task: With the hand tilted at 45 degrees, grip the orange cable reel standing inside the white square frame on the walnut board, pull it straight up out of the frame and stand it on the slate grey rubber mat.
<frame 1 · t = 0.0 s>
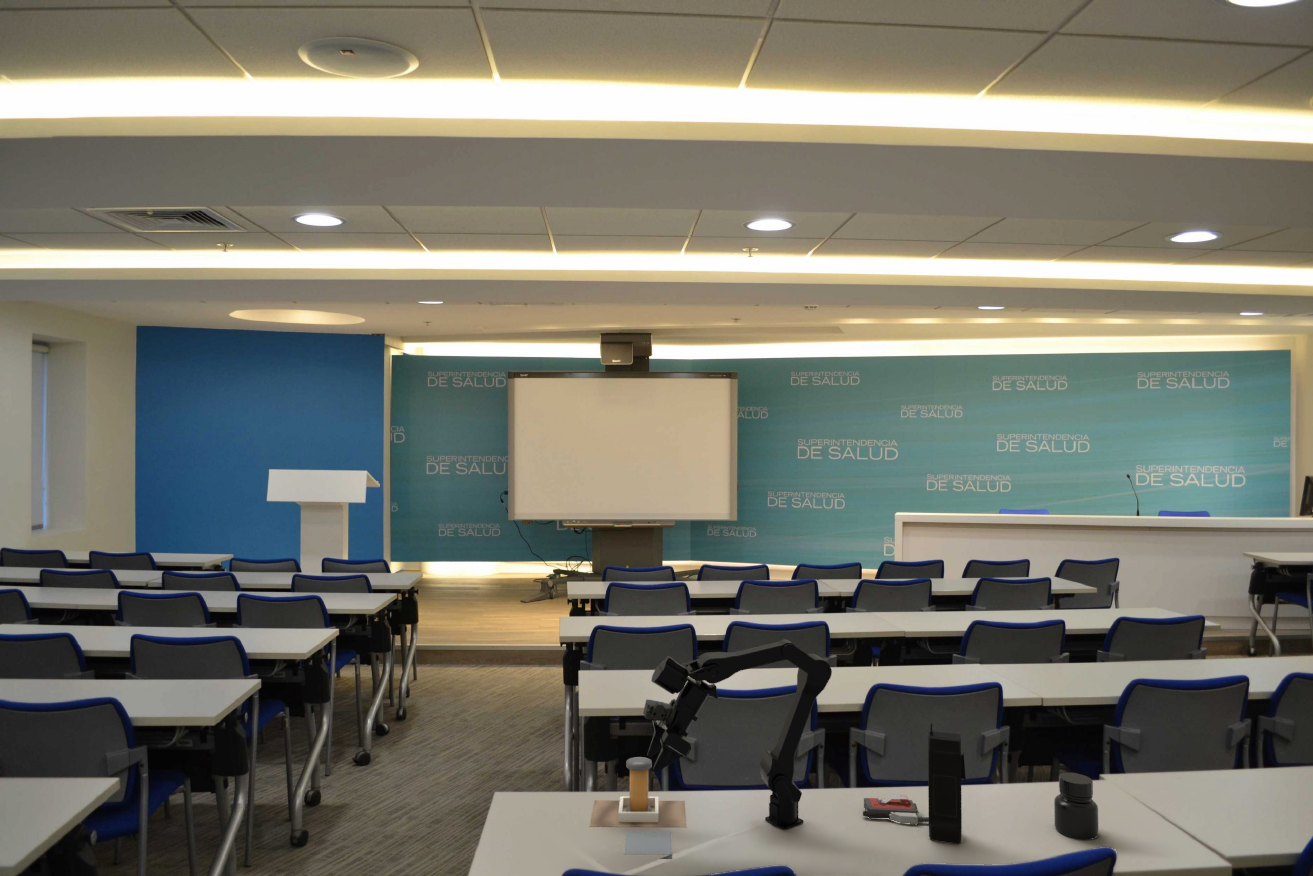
hand: (651, 763, 182), 15 cm above the table, tool tilted 35°, fingers open, 9 cm apart
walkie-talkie: (904, 819, 189), on the table
portable radio: (947, 837, 179), on the table
white square frame: (638, 809, 188), on the walnut board, point 1 cm above the table
grey mat: (648, 847, 173), on the table
cable reel: (638, 813, 188), point 1 cm above the table, touching walnut board
walnut board: (638, 817, 188), on the table
ink bottle: (1076, 832, 182), on the table
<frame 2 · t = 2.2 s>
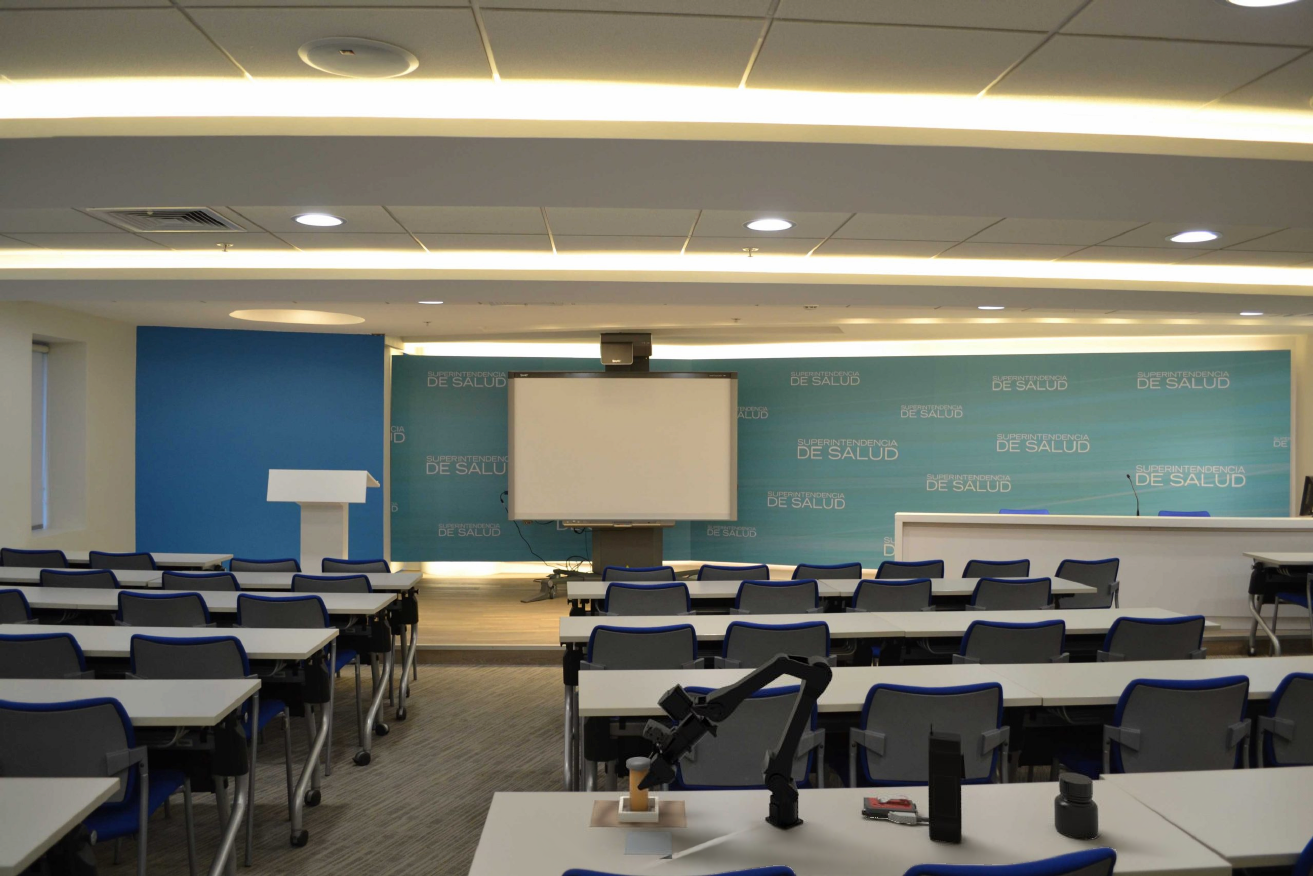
hand: (639, 781, 188), 9 cm above the table, tool tilted 45°, fingers open, 9 cm apart
nothing on the table moved.
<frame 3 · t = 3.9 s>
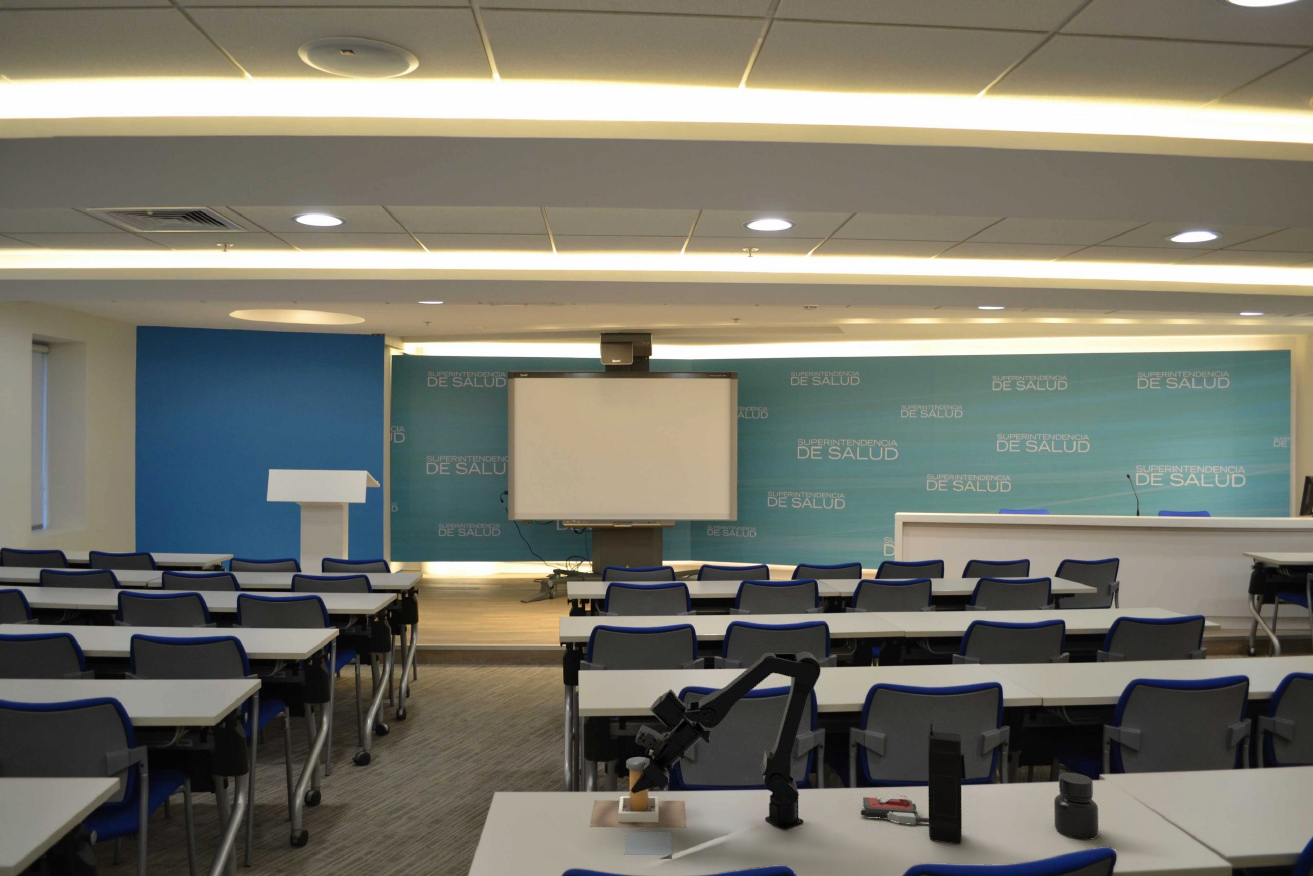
hand: (633, 787, 188), 7 cm above the table, tool tilted 45°, fingers closed on cable reel, 5 cm apart
cable reel: (638, 813, 188), point 1 cm above the table, touching gripper, walnut board
everything else where it was.
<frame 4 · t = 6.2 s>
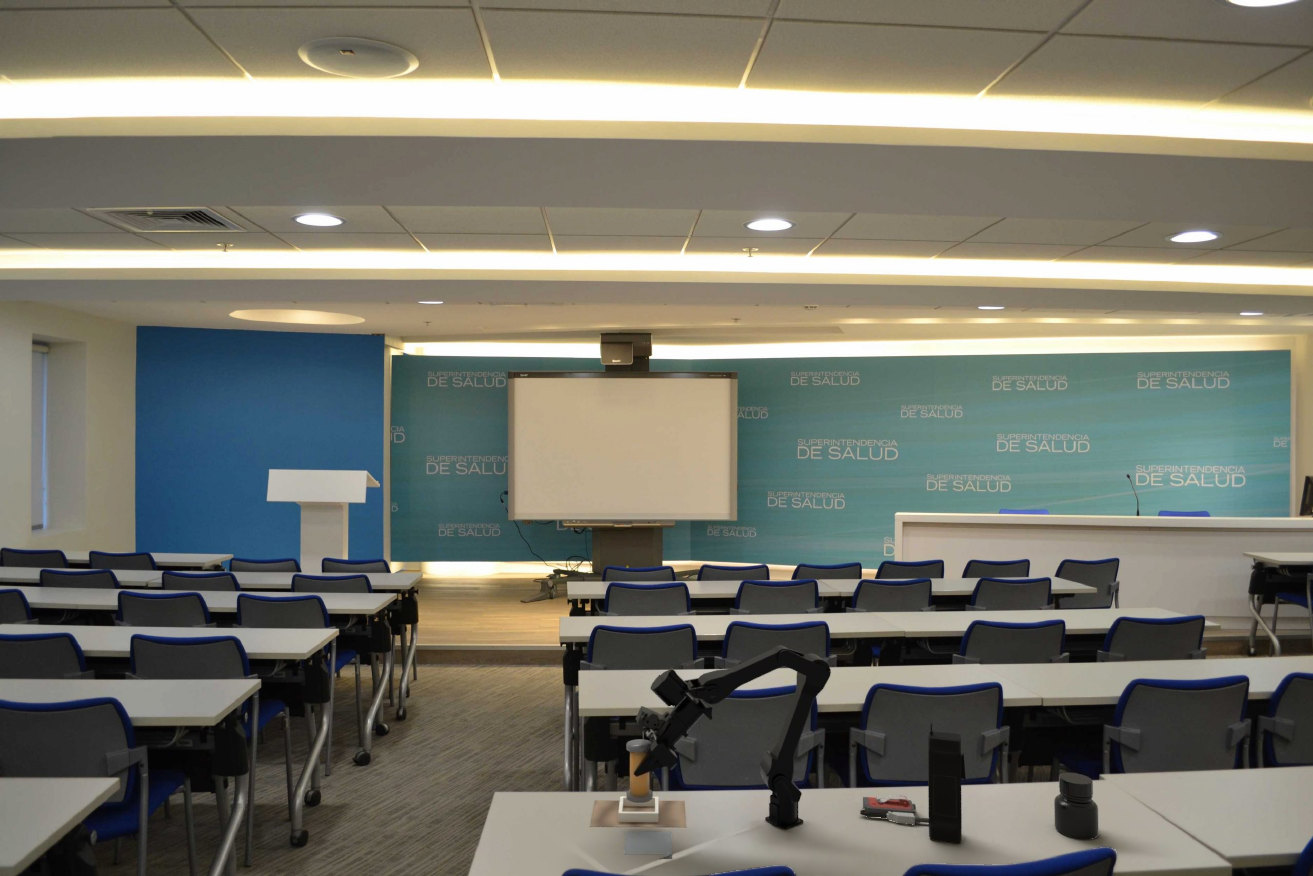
hand: (633, 770, 182), 13 cm above the table, tool tilted 45°, fingers closed on cable reel, 5 cm apart
cable reel: (639, 797, 182), point 7 cm above the table, touching gripper
everything else where it was.
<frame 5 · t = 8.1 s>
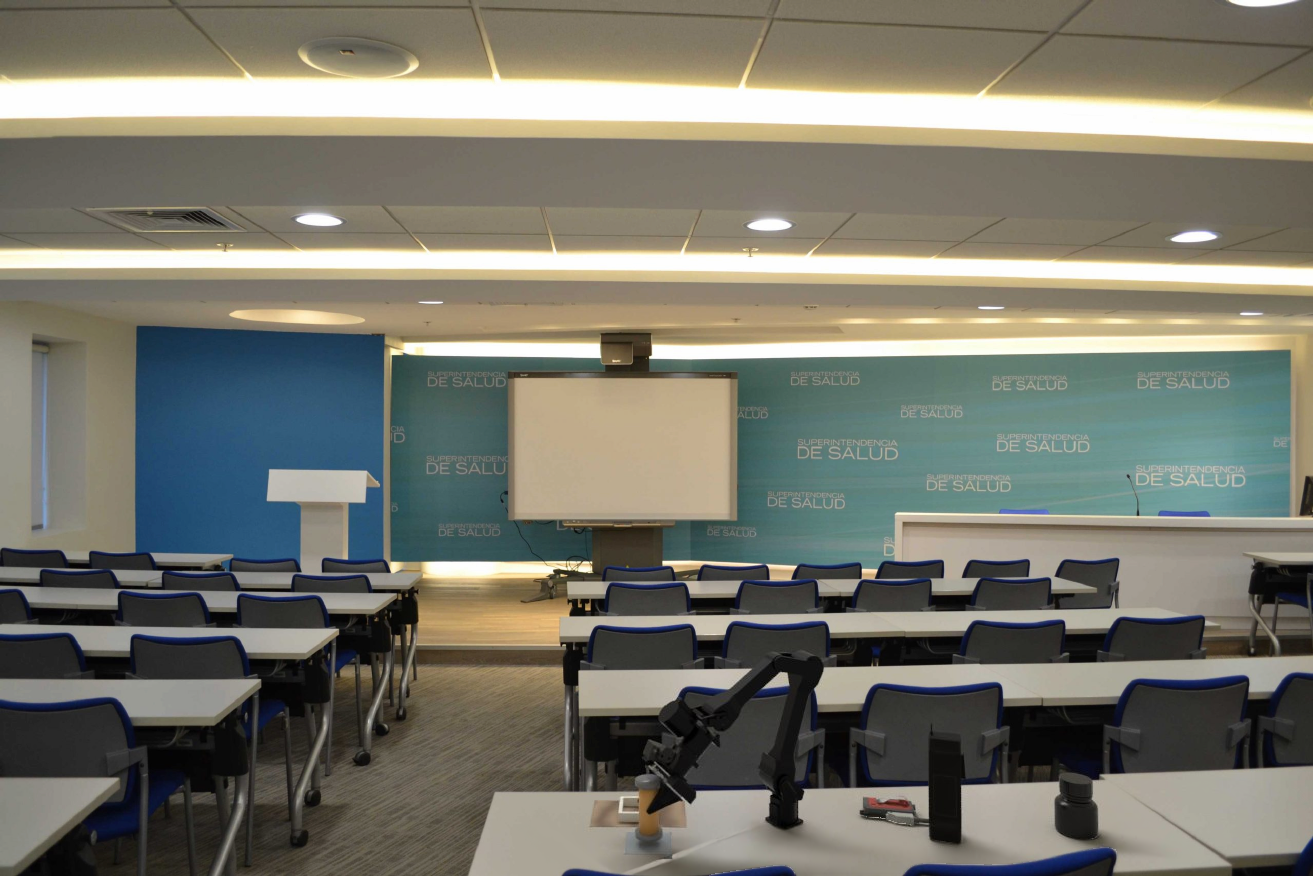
hand: (643, 808, 173), 9 cm above the table, tool tilted 45°, fingers closed on cable reel, 5 cm apart
cable reel: (648, 835, 173), point 3 cm above the table, touching gripper
everything else where it was.
when the fingers open (8 cm above the table, at t = 8.9 s): cable reel drops 1 cm, resting on grey mat.
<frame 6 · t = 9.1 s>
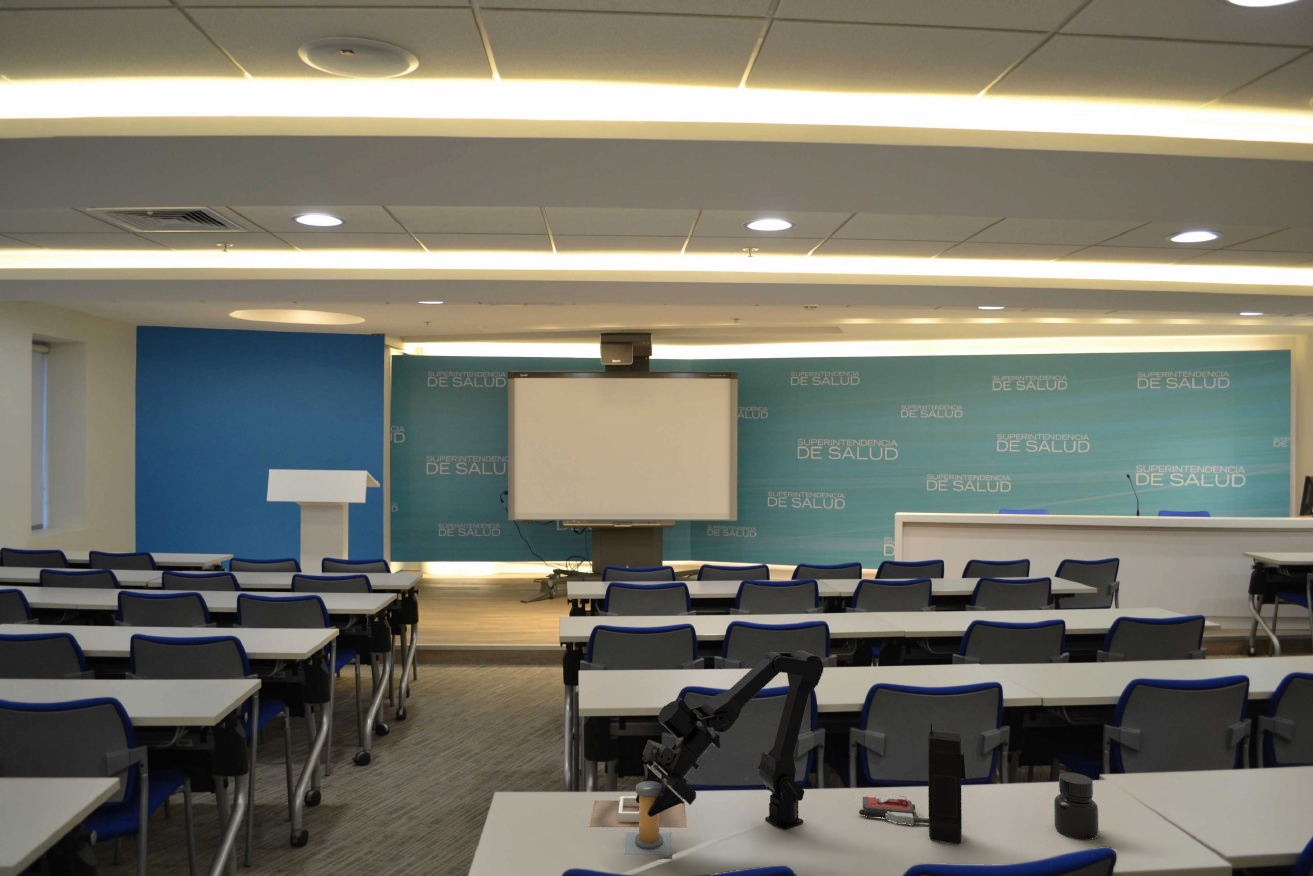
hand: (642, 808, 173), 9 cm above the table, tool tilted 45°, fingers open, 7 cm apart
cable reel: (648, 842, 173), point 1 cm above the table, touching grey mat
everything else where it was.
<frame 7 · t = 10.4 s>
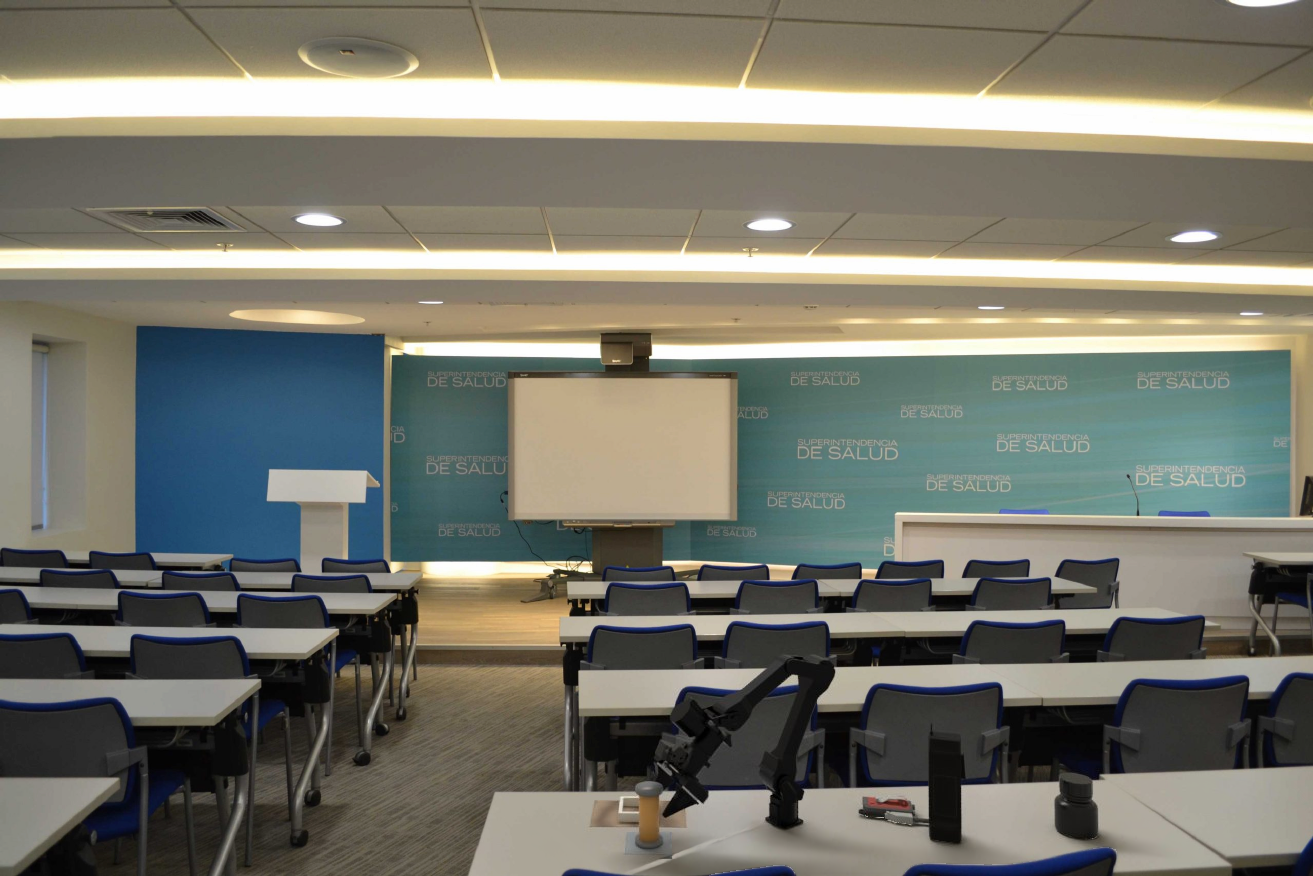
hand: (655, 807, 174), 8 cm above the table, tool tilted 45°, fingers open, 9 cm apart
nothing on the table moved.
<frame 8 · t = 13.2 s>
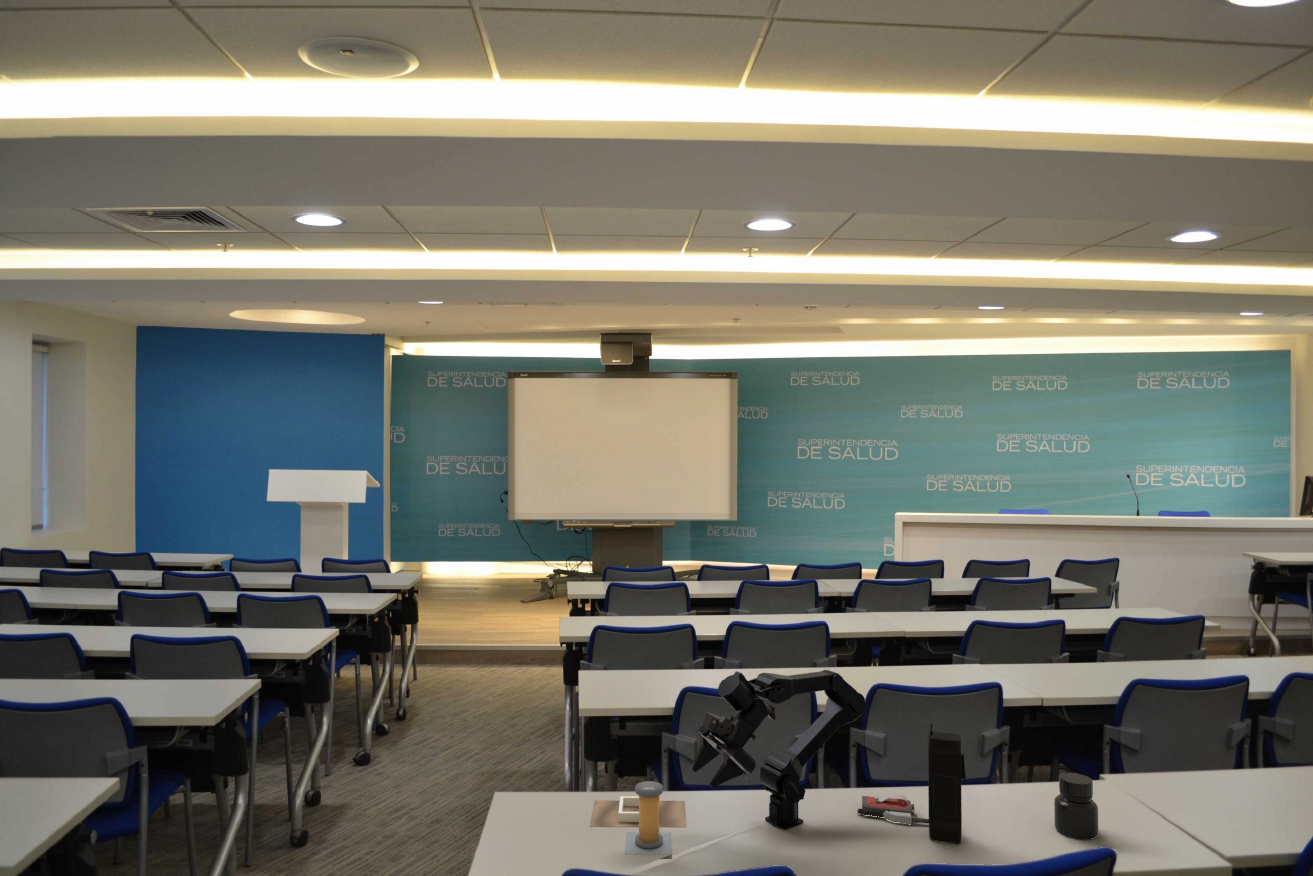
hand: (702, 778, 177), 14 cm above the table, tool tilted 45°, fingers open, 9 cm apart
at the end: cable reel inside the target area on the grey mat (0.1 cm from its centre), point 1.0 cm above the grey mat's base; cable reel tilted 0°; the gripper is holding nothing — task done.
